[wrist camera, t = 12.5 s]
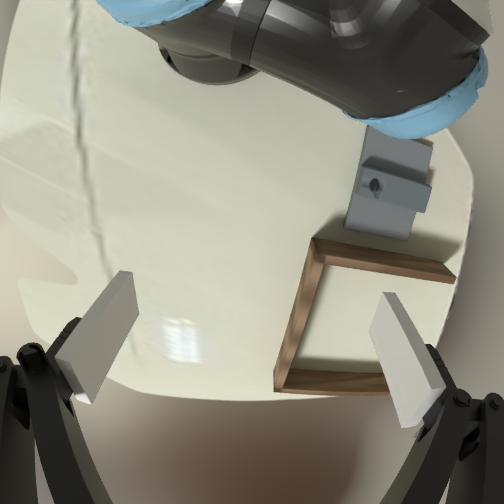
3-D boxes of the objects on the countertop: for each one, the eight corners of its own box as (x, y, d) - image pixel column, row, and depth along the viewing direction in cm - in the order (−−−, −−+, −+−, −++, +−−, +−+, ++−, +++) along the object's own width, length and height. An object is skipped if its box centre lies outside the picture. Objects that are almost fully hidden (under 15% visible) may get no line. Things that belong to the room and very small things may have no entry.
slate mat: (366, 125, 32) (369, 125, 32) (429, 147, 33) (432, 148, 32) (343, 226, 38) (345, 228, 38) (404, 238, 39) (406, 241, 38)
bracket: (418, 209, 36) (425, 214, 34) (353, 193, 35) (358, 196, 34) (426, 183, 34) (433, 186, 32) (360, 163, 34) (365, 166, 32)
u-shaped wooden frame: (311, 237, 39) (317, 253, 35) (441, 262, 40) (456, 277, 36) (273, 371, 51) (273, 391, 47) (381, 377, 52) (388, 395, 47)
